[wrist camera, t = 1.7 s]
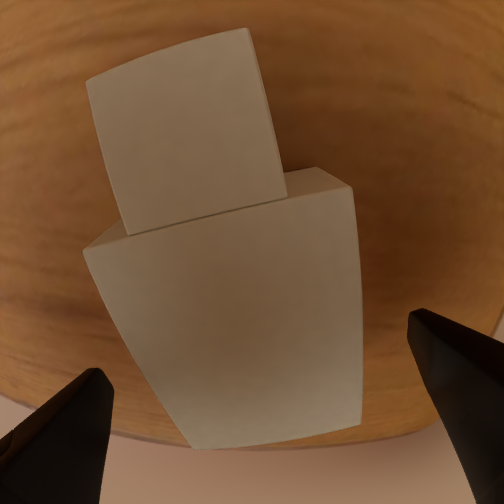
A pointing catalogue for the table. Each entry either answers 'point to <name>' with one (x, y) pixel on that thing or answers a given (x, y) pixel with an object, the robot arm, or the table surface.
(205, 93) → the beige stepped block
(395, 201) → the table surface
